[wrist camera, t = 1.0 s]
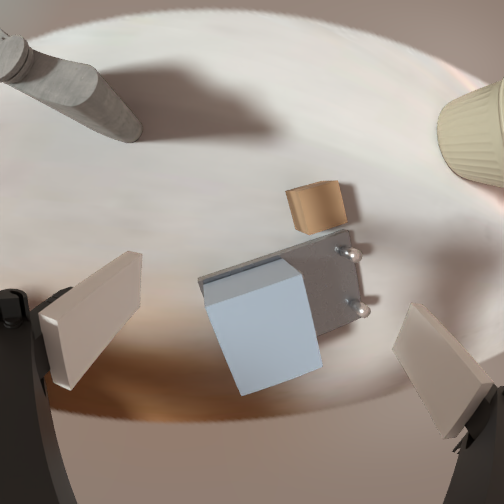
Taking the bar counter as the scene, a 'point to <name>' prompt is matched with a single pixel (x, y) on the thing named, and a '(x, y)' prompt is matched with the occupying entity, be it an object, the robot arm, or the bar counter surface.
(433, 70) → the bar counter surface
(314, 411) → the bar counter surface
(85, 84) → the hip flask
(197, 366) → the bar counter surface
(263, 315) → the housing cover
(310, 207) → the light brown cube
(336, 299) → the housing base
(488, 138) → the canister
